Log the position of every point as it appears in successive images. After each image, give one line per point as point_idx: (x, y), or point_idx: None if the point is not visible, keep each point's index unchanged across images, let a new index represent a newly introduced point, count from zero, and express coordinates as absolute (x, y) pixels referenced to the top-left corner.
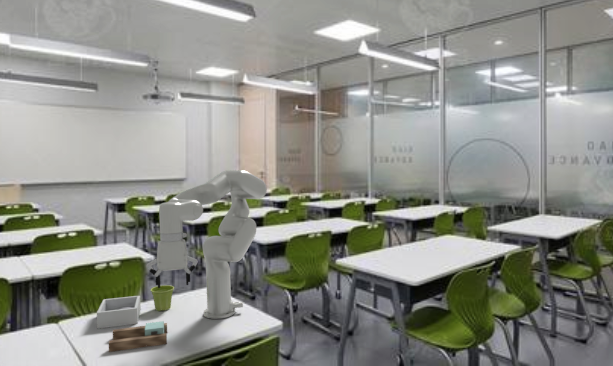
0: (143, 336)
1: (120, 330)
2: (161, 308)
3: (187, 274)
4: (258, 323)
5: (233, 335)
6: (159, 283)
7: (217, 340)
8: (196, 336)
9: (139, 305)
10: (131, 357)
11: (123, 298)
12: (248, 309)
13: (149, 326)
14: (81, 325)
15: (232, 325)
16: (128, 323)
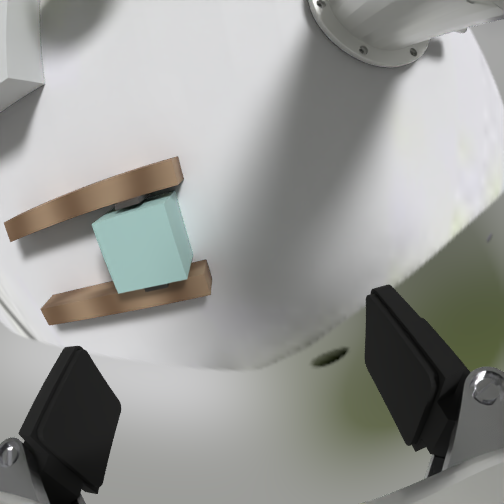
0: (125, 294)
1: (24, 231)
2: None
3: (423, 444)
4: (486, 152)
5: (425, 232)
6: (110, 437)
7: (380, 264)
8: (312, 224)
9: None
10: (137, 348)
11: None
12: None
13: (121, 262)
14: None
15: (427, 144)
16: (18, 97)
